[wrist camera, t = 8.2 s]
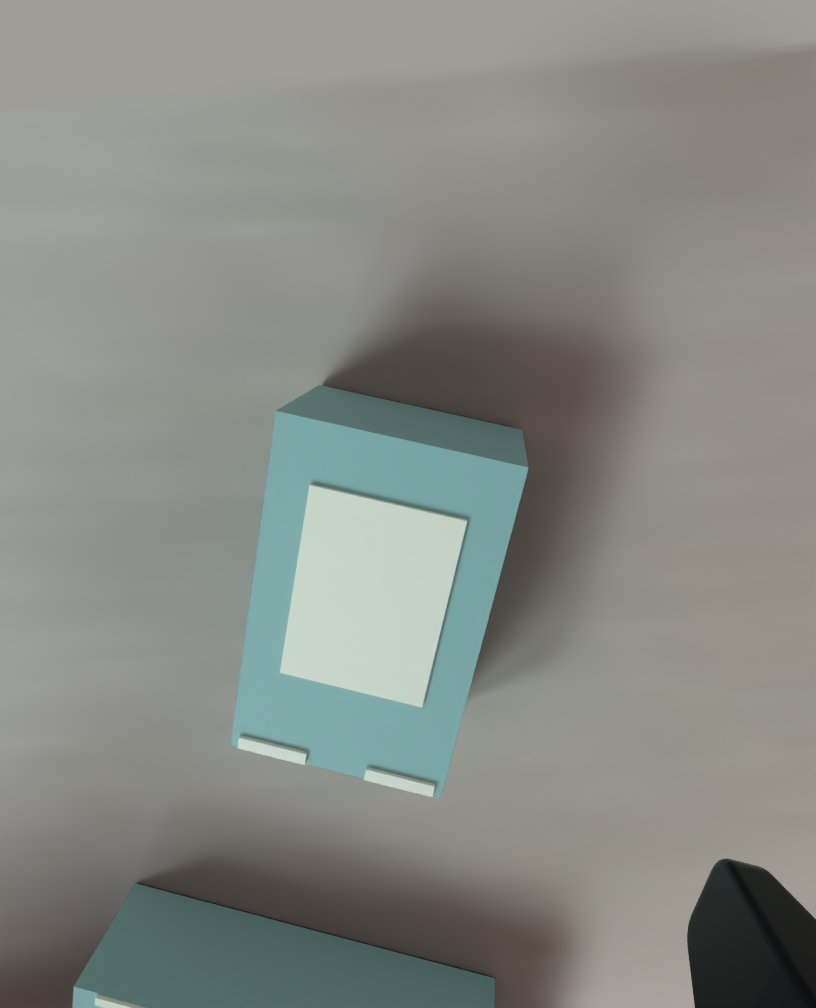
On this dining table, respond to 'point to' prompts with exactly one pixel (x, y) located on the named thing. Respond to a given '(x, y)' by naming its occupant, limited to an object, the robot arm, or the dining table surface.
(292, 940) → the teal tabbed box
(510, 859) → the dining table surface
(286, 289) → the dining table surface
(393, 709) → the teal labeled box
